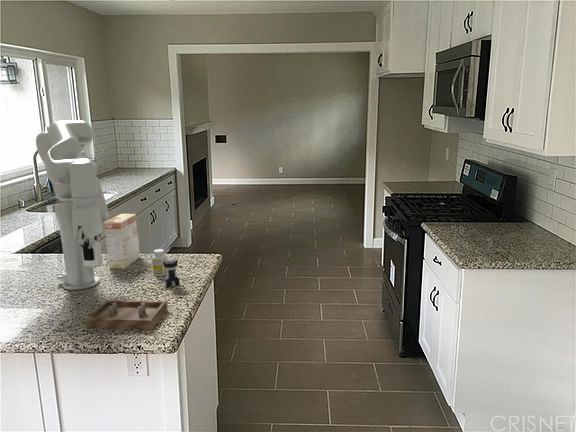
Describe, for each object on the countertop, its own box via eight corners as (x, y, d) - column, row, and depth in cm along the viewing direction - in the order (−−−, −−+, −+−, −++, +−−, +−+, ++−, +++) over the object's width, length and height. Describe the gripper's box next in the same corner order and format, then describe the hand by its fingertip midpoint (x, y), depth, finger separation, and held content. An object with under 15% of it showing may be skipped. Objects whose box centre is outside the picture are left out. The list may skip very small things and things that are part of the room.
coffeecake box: (125, 256, 210) (121, 213, 205) (140, 257, 209) (136, 213, 204) (108, 268, 195) (103, 221, 191) (124, 268, 194) (120, 222, 190)
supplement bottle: (157, 277, 184) (155, 253, 182) (150, 274, 188) (148, 250, 186) (170, 273, 187) (168, 250, 185) (163, 270, 191) (161, 247, 189)
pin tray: (86, 328, 143) (84, 314, 142) (107, 308, 156) (106, 295, 155) (151, 329, 141) (150, 315, 140) (167, 309, 154) (166, 296, 153)
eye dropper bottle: (91, 269, 149) (87, 231, 147) (82, 265, 153) (77, 229, 150) (104, 265, 153) (100, 228, 150) (95, 262, 156) (90, 226, 154)
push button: (164, 289, 171) (162, 263, 169) (159, 285, 175) (156, 259, 173) (182, 285, 175) (180, 259, 173) (176, 281, 179) (174, 255, 177)
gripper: (87, 196, 157) (94, 250, 161) (59, 206, 141) (67, 266, 145) (109, 196, 156) (115, 250, 160) (83, 206, 140) (90, 266, 144)
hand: (92, 257), depth 152 cm, fingers closed on eye dropper bottle, 3 cm apart
